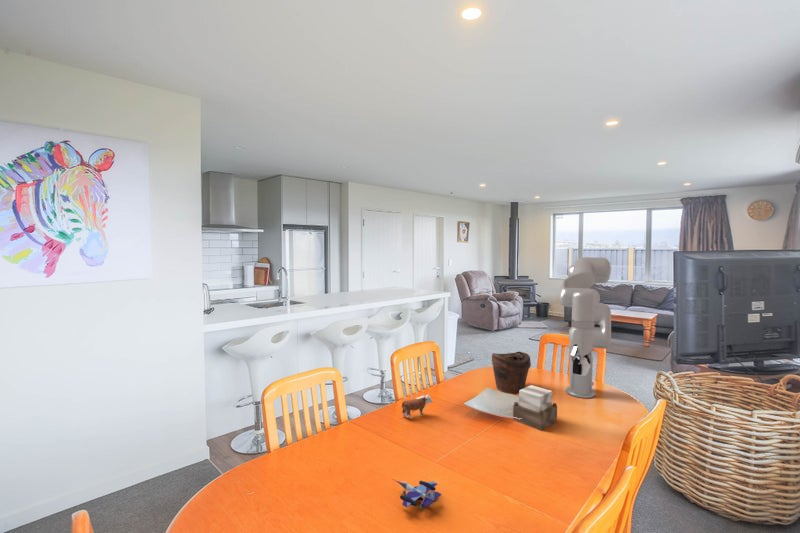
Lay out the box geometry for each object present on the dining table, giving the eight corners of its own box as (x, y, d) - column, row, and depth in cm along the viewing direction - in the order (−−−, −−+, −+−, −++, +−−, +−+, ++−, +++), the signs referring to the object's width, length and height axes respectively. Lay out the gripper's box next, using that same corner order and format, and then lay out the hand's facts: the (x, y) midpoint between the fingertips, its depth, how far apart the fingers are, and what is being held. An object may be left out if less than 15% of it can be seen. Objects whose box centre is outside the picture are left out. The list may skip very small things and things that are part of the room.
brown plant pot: (535, 385, 196) (535, 349, 195) (524, 399, 179) (524, 359, 178) (499, 379, 206) (499, 345, 205) (486, 392, 189) (485, 354, 188)
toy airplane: (389, 486, 115) (389, 474, 115) (437, 485, 116) (437, 473, 116) (389, 517, 102) (389, 503, 102) (443, 516, 103) (443, 503, 102)
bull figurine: (434, 415, 162) (434, 395, 162) (403, 420, 158) (403, 400, 157) (429, 411, 167) (429, 392, 166) (399, 416, 162) (399, 396, 161)
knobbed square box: (529, 411, 166) (529, 383, 165) (556, 421, 157) (557, 391, 156) (513, 419, 158) (513, 390, 158) (541, 430, 149) (541, 399, 149)
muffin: (573, 370, 154) (574, 352, 153) (591, 373, 151) (591, 355, 150) (571, 375, 148) (571, 357, 148) (589, 378, 145) (589, 359, 145)
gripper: (582, 319, 157) (581, 364, 158) (561, 326, 145) (560, 374, 147) (602, 322, 151) (601, 369, 152) (582, 329, 140) (580, 380, 141)
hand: (581, 371), depth 149 cm, fingers closed on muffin, 6 cm apart
